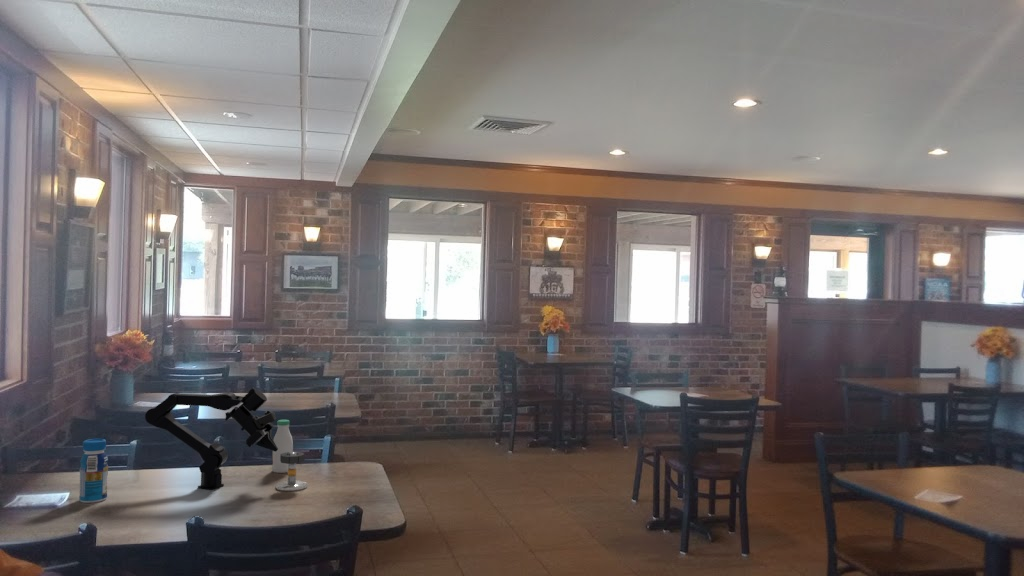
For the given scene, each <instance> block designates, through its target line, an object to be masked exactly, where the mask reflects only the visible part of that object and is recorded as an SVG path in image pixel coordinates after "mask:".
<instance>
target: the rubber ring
mask: <svg viewBox="0 0 1024 576" xmlns="http://www.w3.org/2000/svg"><path fill="white" fill-rule="evenodd" d="M295 452H296V455H292V456H290V455H288V453H289V452H285V453H282V454H280V461H281V463H286V464H295V463H296V464H301V463H303V462H305V453H304V452H302V451H295Z"/></svg>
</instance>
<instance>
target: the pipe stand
mask: <svg viewBox="0 0 1024 576" xmlns="http://www.w3.org/2000/svg"><path fill="white" fill-rule="evenodd" d="M296 452H297V451H293V452H289V453H288V455H290V456H292V455H296ZM306 487H308V482H306V481H303V480H297V463H295V464H288V472H287V480H285V481H279V482H278V483H276V484H275V490H277V491H280V492H297V491H298V492H299V491H303V490H305V489H307V488H306ZM302 489H303V490H302Z"/></svg>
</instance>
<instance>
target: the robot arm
mask: <svg viewBox="0 0 1024 576" xmlns="http://www.w3.org/2000/svg"><path fill="white" fill-rule="evenodd" d="M267 400H268V398H267V396H266V395H265V393H264V392H261V391H260V390H258V389H256V388H255V387H252V388H250V390H249V391H248V392H247V393H246V394H245V395H244V396H241V395H236V394H235V393H234V392H230V391H229V392H221V393H215V394H195V393H179V392H175V393H171V394H170V395H168V396H167V397H166V399H164V400H163V401H162V402H160V403H159V404H158V405H156V406H154V407H151V408H149V409H148V410H147V411H146V412H145V415H144V420H145V422H146V423H148V424H149V425H151V426H153V427H156V428H158V429H162V430H165V431H167V432H168V433H170V434H171V435H172V436H174V437H176V438H177V439H178V440H180V441H181V442H182V443H183V444H185V445H186V446H188V447H190V448H191V449H193V450H194V451H195V452H197V454H198V455H199V456H200V458H201V460H202V461H203V463H201V465H199V466H198V467H199V472H200V474H201V475H200V485H198V486H197V488H198V489H203V490H215V489H218V488H220V487H223V486H225V484H224V483H222V481H223V480H222V479H223V478H222V477H223V474H222V469H220V468H222V466H223V465H224V463H225V462H226V461H227V459H228V457H229V455H228V451H227V450H226V449H225V448H226V447H225V446H223V445H221V444H220V443H219V442H218V441H214V442H212V443H209V442H208V441H207V440H204V439H203V438H201V437H200V436H199V435H197V434H196V433H195V432H193V431H192V430H190V429H189V428H188V427H186V426H185V425H183V424H182V423H181V422H179V421H177V420H176V418H175V417H174V415H173V414H172V411H173V409H175V408H176V407H177V406H195V407H196V406H197V407H210V408H212V409H216V410H219V411H227V412H225V419H224V420H225V421H226V422H227V421H228V420H230V419H231V418H232V419H233V420H234V421H235V422H236V423H237V424H238V425H239V426H240V427H241V428H240V430H241V431H245V432H246V433H247V434H248V436H249V437H248V438H247V439H246V440H245V445H247V446H248V447H249V448H251V447H252V446H253V445H254V444H255V446H258V447H260V448H261V447H262V448H264V449H268V450H271V452H273V451H275V452H276V451H277V450H278V448H277V446H276V444H275V442H274V441H273V440H274V438H273V437H272V432H273V428H274V427H275V425H274V423H273V422H275V421H276V420H277V417H276V412H274V411H272V410H270V409H268V410H267V411H265V412H264V415H262V416H260V417H259V415H253V414H252V411H253V412H256V411H257V410H258V409H260V408H261V406H262V405H264V404H265V403H266V402H267ZM240 404H241V405H240ZM239 405H240V406H239ZM238 406H239V407H238ZM228 410H230V411H228Z"/></svg>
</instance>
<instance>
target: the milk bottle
mask: <svg viewBox="0 0 1024 576" xmlns="http://www.w3.org/2000/svg"><path fill="white" fill-rule="evenodd" d="M276 422H277V430H276V433H275V435H274V436H273V441H274V442H275V444H276V446H277V448H278V450H277V451H276V452H275V451H271V452H272V453H271V455H272V456H271V457H272V458H271V460H272V462H271V470H272V473H275V474H276V473H277V474H279V473H280V474H283V473H288V464H286V463H281V461H280V454H282V453H285V452H294V444H293V443H294V442H293V436H292V434H291V431H290V422H291V421H290V420H289V419H279V420H277V421H276Z"/></svg>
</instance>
